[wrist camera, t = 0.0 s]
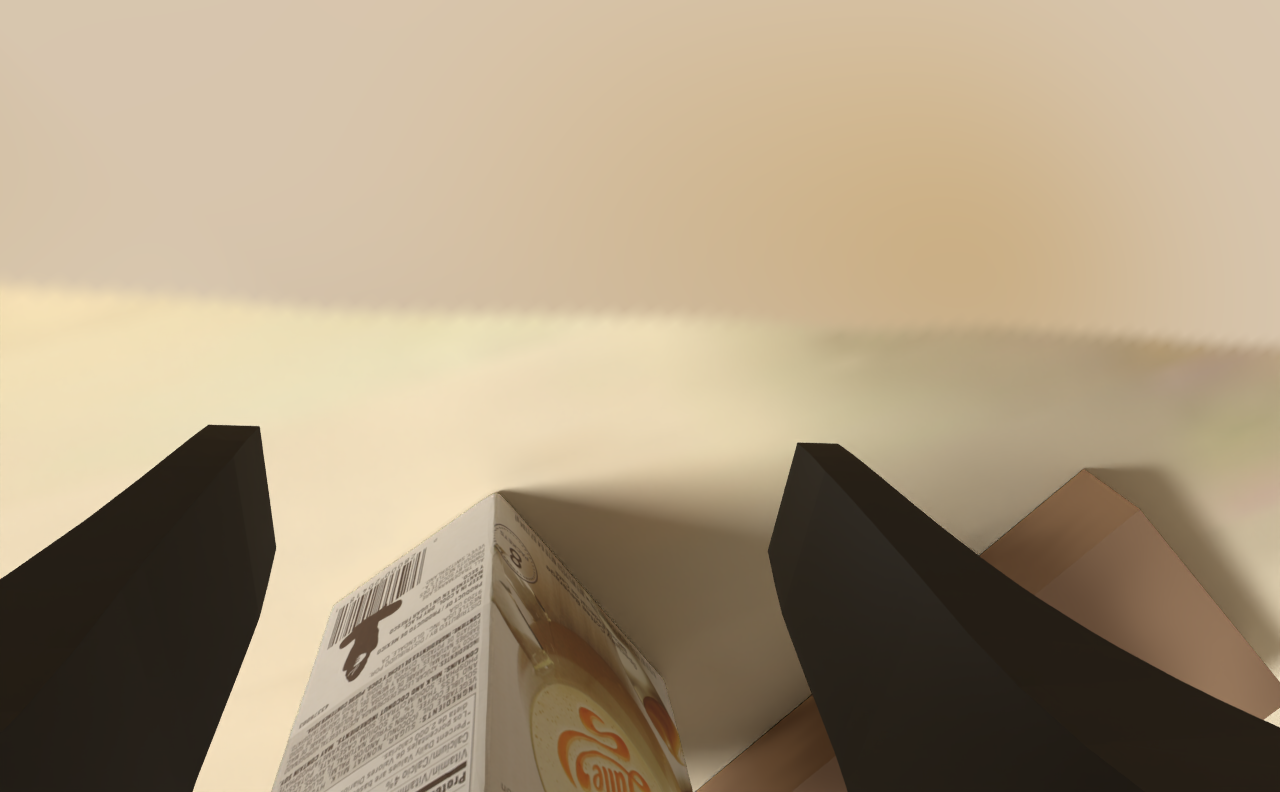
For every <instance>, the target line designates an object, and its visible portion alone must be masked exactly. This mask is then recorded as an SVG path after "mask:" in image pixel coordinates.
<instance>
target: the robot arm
mask: <svg viewBox="0 0 1280 792" xmlns="http://www.w3.org/2000/svg"><path fill="white" fill-rule="evenodd" d="M275 551H276V543H275V535H274V528H273V521H272V513H271V506H270V499H269V491H268V484H267V477H266V469H265V462H264V455H263V447H262V440H261V433H260V426H231V425H208V426H206V427H205V428H203V429H202V430H201V431H199V432H198V433H197V434H195V435H194V436H193V437H191V438H190V439H189V440H188V441H186V442H185V443H184V444H183V445H181V446H180V447H179V448H178V449H176V450H175V451H174V452H173V453H171V454H170V455H169V456H167V457H166V458H165V459H164V460H162V461H161V462H160V463H159V464H157V465H156V466H155V467H154V468H152V469H151V470H150V471H149V472H147V473H146V474H145V475H144V476H142V477H141V478H140V479H139V480H137V481H136V482H135V483H133V484H132V485H131V486H129V487H128V488H127V489H125V490H124V491H123V492H122V493H120V494H119V495H118V496H116V497H115V498H114V499H112V500H111V501H110V502H109V503H107V504H106V505H105V506H103V507H102V508H101V509H99V510H98V511H97V512H95V513H94V514H93V515H92V516H90V517H89V518H88V519H86V520H85V521H84V522H82V523H81V524H79V525H78V526H76V527H75V528H73V529H72V530H71V531H69V532H68V533H66V534H65V535H63V536H62V537H61V538H59V539H58V540H56V541H55V542H53V543H52V544H51V545H49V546H48V547H46V548H45V549H43V550H42V551H41V552H39V553H38V554H36V555H35V556H33V557H32V558H30V559H29V560H28V561H26V562H25V563H23V564H22V565H20V566H19V567H18V568H16V569H15V570H13V571H12V572H10V573H9V574H8V575H6V576H4V577H3V578H1V579H0V792H193V789H194V786H195V783H196V780H197V777H198V775H199V772H200V770H201V767H202V764H203V762H204V759H205V757H206V754H207V752H208V749H209V747H210V744H211V742H212V739H213V736H214V734H215V731H216V729H217V726H218V724H219V721H220V719H221V716H222V713H223V711H224V708H225V706H226V703H227V701H228V698H229V696H230V693H231V691H232V688H233V685H234V683H235V680H236V678H237V675H238V673H239V670H240V668H241V665H242V662H243V660H244V657H245V654H246V652H247V649H248V647H249V644H250V641H251V639H252V636H253V634H254V631H255V628H256V626H257V623H258V620H259V617H260V614H261V610H262V606H263V602H264V598H265V594H266V590H267V586H268V582H269V577H270V573H271V568H272V564H273V560H274V555H275ZM768 554H769V559H770V563H771V568H772V573H773V577H774V582H775V587H776V591H777V595H778V599H779V603H780V607H781V611H782V615H783V617H784V620H785V623H786V626H787V629H788V631H789V634H790V637H791V639H792V642H793V645H794V647H795V650H796V653H797V656H798V658H799V661H800V664H801V666H802V669H803V671H804V674H805V677H806V679H807V682H808V684H809V687H810V690H811V692H812V695H813V697H814V700H815V703H816V705H817V708H818V711H819V713H820V716H821V718H822V721H823V724H824V726H825V729H826V731H827V734H828V737H829V739H830V742H831V745H832V747H833V750H834V752H835V755H836V758H837V761H838V764H839V767H840V770H841V773H842V776H843V779H844V782H845V785H846V788H847V792H1280V728H1279V727H1277V726H1275V725H1273V724H1271V723H1269V722H1266V721H1264V720H1262V719H1260V718H1258V717H1256V716H1254V715H1251V714H1249V713H1247V712H1245V711H1243V710H1241V709H1238V708H1236V707H1234V706H1232V705H1230V704H1228V703H1225V702H1223V701H1221V700H1219V699H1217V698H1215V697H1213V696H1211V695H1209V694H1207V693H1205V692H1203V691H1201V690H1199V689H1197V688H1195V687H1193V686H1191V685H1189V684H1187V683H1185V682H1183V681H1181V680H1179V679H1177V678H1175V677H1173V676H1171V675H1169V674H1167V673H1165V672H1164V671H1162V670H1160V669H1158V668H1156V667H1154V666H1153V665H1151V664H1149V663H1147V662H1145V661H1143V660H1141V659H1140V658H1138V657H1136V656H1134V655H1132V654H1130V653H1129V652H1127V651H1125V650H1123V649H1121V648H1119V647H1118V646H1116V645H1114V644H1112V643H1111V642H1109V641H1107V640H1106V639H1104V638H1102V637H1100V636H1099V635H1097V634H1095V633H1093V632H1092V631H1090V630H1088V629H1087V628H1085V627H1084V626H1082V625H1080V624H1079V623H1077V622H1076V621H1074V620H1073V619H1071V618H1069V617H1068V616H1066V615H1065V614H1063V613H1061V612H1060V611H1058V610H1057V609H1055V608H1053V607H1052V606H1050V605H1049V604H1047V603H1046V602H1044V601H1042V600H1041V599H1039V598H1038V597H1036V596H1035V595H1033V594H1032V593H1030V592H1029V591H1027V590H1026V589H1024V588H1023V587H1021V586H1020V585H1019V584H1017V583H1016V582H1014V581H1013V580H1012V579H1010V578H1009V577H1007V576H1006V575H1005V574H1003V573H1002V572H1000V571H999V570H998V569H996V568H995V567H994V566H992V565H991V564H989V563H988V562H987V561H985V560H984V559H983V558H981V557H980V556H978V555H977V554H976V553H974V552H973V551H972V550H970V549H969V548H968V547H967V546H965V545H964V544H963V543H961V542H960V541H959V540H957V539H956V538H955V537H954V536H952V535H951V534H950V533H949V532H947V531H946V530H945V529H943V528H942V527H941V526H940V525H938V524H937V523H936V522H935V521H933V520H932V519H931V518H930V517H928V516H927V515H926V514H925V513H924V512H922V511H921V510H920V509H919V508H917V507H916V506H915V505H914V504H913V503H911V502H910V501H909V500H908V499H906V498H905V497H904V496H903V495H902V494H900V493H899V492H898V491H897V490H896V489H894V488H893V487H892V486H891V485H890V484H888V483H887V482H886V481H885V480H884V479H882V478H881V477H880V476H879V475H878V474H876V473H875V472H874V471H873V470H871V469H870V468H869V467H868V466H866V465H865V464H864V463H863V462H862V461H860V460H859V459H858V458H856V457H855V456H854V455H853V454H851V453H850V452H849V451H847V450H846V449H844V448H843V447H842V446H840V445H839V444H826V443H797V446H796V450H795V454H794V457H793V461H792V465H791V468H790V472H789V476H788V479H787V483H786V486H785V490H784V494H783V497H782V501H781V505H780V508H779V512H778V516H777V519H776V523H775V527H774V530H773V534H772V538H771V541H770V545H769V549H768Z"/></svg>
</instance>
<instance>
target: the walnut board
mask: <svg viewBox="0 0 1280 792" xmlns="http://www.w3.org/2000/svg"><path fill="white" fill-rule="evenodd" d="M980 557H981V558H983V559H984V560H985V561H987V562H988V563H989V564H991V565H992V566H994V567H995V568H996V569H998V570H999V571H1000V572H1002V573H1003V574H1005V575H1006V576H1007V577H1009V578H1010V579H1012V580H1013V581H1014V582H1016V583H1017V584H1019V585H1020V586H1021V587H1023V588H1024V589H1026V590H1027V591H1029V592H1030V593H1032V594H1033V595H1035V596H1036V597H1038V598H1039V599H1041V600H1042V601H1044V602H1046V603H1047V604H1049V605H1050V606H1052V607H1053V608H1055V609H1057V610H1058V611H1060V612H1061V613H1063V614H1065V615H1066V616H1068V617H1069V618H1071V619H1073V620H1074V621H1076V622H1077V623H1079V624H1080V625H1082V626H1084V627H1085V628H1087V629H1088V630H1090V631H1092V632H1093V633H1095V634H1097V635H1099V636H1100V637H1102V638H1104V639H1106V640H1107V641H1109V642H1111V643H1112V644H1114V645H1116V646H1118V647H1119V648H1121V649H1123V650H1125V651H1127V652H1129V653H1130V654H1132V655H1134V656H1136V657H1138V658H1140V659H1141V660H1143V661H1145V662H1147V663H1149V664H1151V665H1153V666H1154V667H1156V668H1158V669H1160V670H1162V671H1164V672H1165V673H1167V674H1169V675H1171V676H1173V677H1175V678H1177V679H1179V680H1181V681H1183V682H1185V683H1187V684H1189V685H1191V686H1193V687H1195V688H1197V689H1199V690H1201V691H1203V692H1205V693H1207V694H1209V695H1211V696H1213V697H1215V698H1217V699H1219V700H1221V701H1223V702H1225V703H1228V704H1230V705H1232V706H1234V707H1236V708H1238V709H1241V710H1243V711H1245V712H1247V713H1249V714H1251V715H1254V716H1256V717H1258V718H1260V719H1262V720H1264V719H1265V718H1266V717H1268V716H1269V715H1270V714H1272V713H1273V712H1275V711H1276V710H1277V709H1279V708H1280V682H1279V681H1278V679H1277V678H1276V677H1275V676H1274V674H1273V673H1272V672H1271V671H1270V670H1269V668H1268V667H1267V666H1266V665H1265V663H1264V662H1263V661H1262V660H1261V658H1260V657H1259V656H1258V655H1257V653H1256V652H1255V651H1254V650H1253V649H1252V647H1251V646H1250V645H1249V644H1248V642H1247V641H1246V640H1245V639H1244V637H1243V636H1242V635H1241V634H1240V632H1239V631H1238V630H1237V629H1236V627H1235V626H1234V625H1233V624H1232V623H1231V621H1230V620H1229V619H1228V618H1227V616H1226V615H1225V614H1224V613H1223V611H1222V610H1221V609H1220V608H1219V606H1218V605H1217V604H1216V603H1215V602H1214V600H1213V599H1212V598H1211V597H1210V595H1209V594H1208V593H1207V592H1206V590H1205V589H1204V588H1203V587H1202V585H1201V584H1200V583H1199V582H1198V580H1197V579H1196V578H1195V577H1194V576H1193V574H1192V573H1191V572H1190V571H1189V569H1188V568H1187V567H1186V566H1185V564H1184V563H1183V562H1182V561H1181V559H1180V558H1179V557H1178V556H1177V554H1176V553H1175V552H1174V551H1173V550H1172V548H1171V547H1170V546H1169V545H1168V543H1167V542H1166V541H1165V540H1164V538H1163V537H1162V536H1161V535H1160V533H1159V532H1158V531H1157V530H1156V529H1155V527H1154V526H1153V525H1152V524H1151V522H1150V521H1149V520H1148V519H1147V517H1146V516H1145V515H1144V514H1143V512H1142V511H1141V510H1140V509H1139V508H1137V507H1136V506H1135V505H1133V504H1132V503H1130V502H1129V501H1128V500H1126V499H1125V498H1124V497H1122V496H1121V495H1119V494H1118V493H1117V492H1115V491H1114V490H1113V489H1111V488H1110V487H1108V486H1107V485H1106V484H1104V483H1103V482H1101V481H1100V480H1099V479H1097V478H1096V477H1095V476H1093V475H1092V474H1090V473H1089V472H1088V471H1086V470H1085V469H1083V470H1082V471H1081V472H1080V473H1078V474H1077V475H1076V476H1075V477H1074V478H1072V479H1071V480H1070V481H1069V482H1068V483H1066V484H1065V485H1064V486H1063V487H1062V488H1060V489H1059V490H1058V491H1057V492H1056V493H1054V494H1053V495H1052V496H1051V497H1050V498H1048V499H1047V500H1046V501H1045V502H1044V503H1042V504H1041V505H1040V506H1039V507H1038V508H1036V509H1035V510H1034V511H1033V512H1031V513H1030V514H1029V515H1028V516H1027V517H1025V518H1024V519H1023V520H1022V521H1021V522H1019V523H1018V524H1017V525H1016V526H1015V527H1013V528H1012V529H1011V530H1010V531H1009V532H1007V533H1006V534H1005V535H1004V536H1003V537H1001V538H1000V539H999V540H998V541H997V542H995V543H994V544H993V545H992V546H991V547H989V548H988V549H987V550H986V551H985V552H983V553H982V554H981V555H980ZM696 792H847V788H846V785H845V782H844V779H843V776H842V773H841V770H840V767H839V764H838V761H837V758H836V755H835V752H834V750H833V747H832V745H831V742H830V739H829V737H828V734H827V731H826V729H825V726H824V724H823V721H822V718H821V716H820V713H819V711H818V708H817V705H816V703H815V700H814V697H813V695H811V696H810V697H809V698H808V699H807V700H805V701H804V702H803V703H802V704H801V705H799V706H798V707H797V708H796V709H795V710H793V711H792V712H791V713H790V714H789V715H787V716H786V717H785V718H784V719H783V720H781V721H780V722H779V723H778V724H777V725H775V726H774V727H773V728H772V729H771V730H769V731H768V732H767V733H766V734H765V735H763V736H762V737H761V738H760V739H759V740H757V741H756V742H755V743H754V744H753V745H751V746H750V747H749V748H748V749H747V750H745V751H744V752H743V753H742V754H741V755H739V756H738V757H737V758H736V759H735V760H733V761H732V762H731V763H730V764H729V765H727V766H726V767H725V768H724V769H723V770H721V771H720V772H719V773H718V774H717V775H715V776H714V777H713V778H712V779H710V780H709V781H708V782H707V783H706V784H704V785H703V786H702V787H701V788H700V789H698V790H697V791H696Z"/></svg>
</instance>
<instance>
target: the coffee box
mask: <svg viewBox="0 0 1280 792" xmlns="http://www.w3.org/2000/svg"><path fill="white" fill-rule="evenodd" d="M271 792H692V786H691V783H690V779H689V775H688V771H687V766H686V763H685V759H684V755H683V751H682V747H681V743H680V738H679V734H678V730H677V726H676V722H675V718H674V715H673V711H672V707H671V704H670V700H669V696H668V692H667V688H666V685H665V682H664V680H663V678H662V677H661V676H660V675H659V674H658V672H657V671H656V670H655V669H654V668H653V667H652V666H651V665H650V664H649V663H648V661H647V660H646V659H645V658H644V657H643V655H642V654H641V653H640V652H639V651H638V650H637V649H636V647H635V646H634V645H633V644H632V643H631V642H630V641H629V639H628V638H627V637H626V636H625V635H624V634H623V633H622V632H621V631H620V629H619V628H618V627H617V626H616V625H615V624H614V623H613V622H612V620H611V619H610V618H609V617H608V616H607V615H606V614H605V613H604V611H603V610H602V609H601V608H600V607H599V606H598V605H597V603H596V602H595V601H594V600H593V599H592V598H591V597H590V595H589V594H588V593H587V592H586V591H585V590H584V589H583V587H582V586H581V585H580V584H579V583H578V582H577V581H576V580H575V579H574V577H573V576H572V575H571V574H570V573H569V572H568V571H567V569H566V568H565V567H564V566H563V565H562V564H561V562H560V561H559V560H558V559H557V558H556V557H555V556H554V554H553V553H552V552H551V551H550V550H549V549H548V547H547V546H546V545H545V544H544V543H543V542H542V541H541V539H540V538H539V537H538V536H537V535H536V534H535V533H534V532H533V530H532V529H531V528H530V527H529V526H528V525H527V524H526V523H525V521H524V520H523V519H522V518H521V517H520V516H519V514H518V513H517V512H516V511H515V510H514V509H513V508H512V506H511V505H510V504H509V503H508V502H507V501H506V500H505V499H504V498H503V497H502V496H501V495H500V494H498V493H494V494H491V495H489V496H487V497H486V498H484V499H483V500H481V501H480V502H478V503H477V504H475V505H474V506H473V507H471V508H470V509H468V510H467V511H466V512H464V513H463V514H461V515H460V516H459V517H457V518H456V519H454V520H453V521H452V522H450V523H449V524H447V525H446V526H445V527H443V528H442V529H440V530H439V531H437V532H436V533H435V534H433V535H432V536H430V537H429V538H428V539H426V540H425V541H423V542H422V543H421V544H419V545H418V546H417V547H415V548H414V549H412V550H411V551H409V552H408V553H406V554H405V555H404V556H402V557H401V558H399V559H398V560H396V561H395V562H393V563H392V564H391V565H389V566H388V567H386V568H385V569H384V570H382V571H381V572H380V573H378V574H377V575H375V576H374V577H373V578H371V579H370V580H368V581H367V582H366V583H364V584H363V585H361V586H360V587H358V588H357V589H356V590H354V591H353V592H352V593H350V594H349V595H347V596H346V597H345V598H343V599H342V600H340V601H339V602H338V603H336V604H335V605H334V606H333V608H332V610H331V613H330V615H329V618H328V622H327V625H326V628H325V631H324V634H323V637H322V640H321V643H320V646H319V650H318V653H317V656H316V659H315V662H314V664H313V668H312V671H311V674H310V677H309V680H308V683H307V685H306V688H305V692H304V695H303V697H302V700H301V703H300V706H299V709H298V712H297V715H296V718H295V721H294V723H293V726H292V729H291V732H290V735H289V739H288V742H287V746H286V748H285V751H284V754H283V757H282V760H281V763H280V766H279V769H278V772H277V775H276V778H275V781H274V784H273V787H272V790H271Z"/></svg>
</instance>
